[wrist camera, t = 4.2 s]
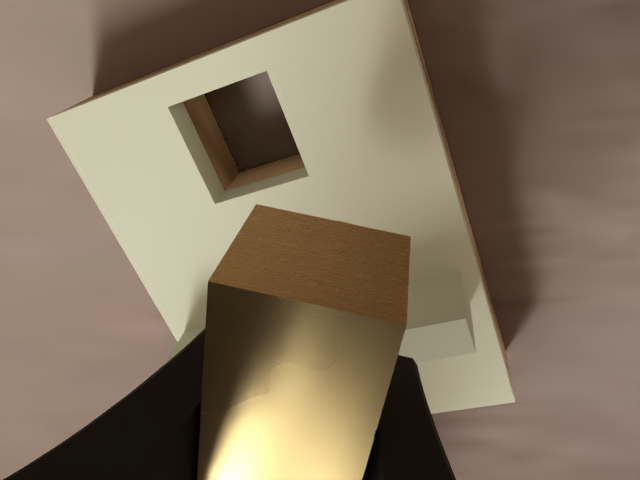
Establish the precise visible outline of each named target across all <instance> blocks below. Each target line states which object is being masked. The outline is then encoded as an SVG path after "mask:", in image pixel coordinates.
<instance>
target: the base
mask: <svg viewBox="0 0 640 480" xmlns="http://www.w3.org/2000/svg"><path fill="white" fill-rule="evenodd" d="M340 1H343V0H335V1H332V2H330V3H327V4H325V5H322V6H320V7H317V8H315V9H312V10H310V11H307V12H305V13H302V14H300V15H297V16H295V17H292V18H289V19H287V20H284V21H282V22H279V23H277V24H274V25H272V26H269V27H267V28H264V29H262V30H259V31H257V32H254V33H252V34H249V35H246V36H244V37H241V38H239V39H236V40H234V41H231V42H229V43H226V44H224V45H221V46H219V47H216V48H214V49H211V50H209V51H206V52H203V53H201V54H198V55H196V56H193V57H191V58H188V59H186V60H183V61H181V62H178V63H176V64H173V65H171V66H168V67H165V68H163V69H160V70H158V71H155V72H153V73H150V74H148V75H145V76H143V77H140V78H138V79H135V80H133V81H130V82H128V83H125V84H122V85H120V86H117V87H115V88H112V89H110V90H107V91H105V92H102V93H100V94H97V95H95V96H92V97H90V98H88V99H86V100H84V101H82V102H80V103H78V104H81V103H83V102H86V101H89V100H91V99H94V98H96V97H99V96H101V95H104V94H106V93H109V92H111V91H114V90H116V89H119V88H122V87H124V86H127V85H129V84H132V83H134V82H137V81H139V80H142V79H144V78H147V77H150V76H152V75H155V74H157V73H160V72H162V71H165V70H167V69H170V68H172V67H175V66H177V65H180V64H183V63H185V62H188V61H190V60H193V59H195V58H198V57H200V56H203V55H205V54H208V53H211V52H213V51H216V50H218V49H221V48H223V47H226V46H228V45H231V44H233V43H236V42H238V41H241V40H244V39H246V38H249V37H251V36H254V35H256V34H259V33H261V32H264V31H266V30H269V29H272V28H274V27H277V26H279V25H282V24H284V23H287V22H289V21H292V20H294V19H297V18H299V17H302V16H305V15H307V14H310V13H312V12H315V11H317V10H320V9H322V8H325V7H327V6H330V5H333V4H335V3H338V2H340ZM404 3H405V7H406V10H407V14H408V17H409V21H410V24H411V28H412V31H413V35H414V38H415V42H416V45H417V49H418V53H419V56H420V60H421V63H422V67H423V70H424V74H425V77H426V81H427V84H428V88H429V91H430V95H431V99H432V102H433V106H434V109H435V113H436V116H437V120H438V123H439V127H440V130H441V134H442V137H443V141H444V145H445V148H446V152H447V155H448V159H449V162H450V166H451V169H452V173H453V176H454V180H455V183H456V187H457V190H458V194H459V198H460V201H461V205H462V208H463V212H464V215H465V219H466V222H467V226H468V229H469V233H470V236H471V240H472V244H473V247H474V251H475V254H476V258H477V261H478V265H479V268H480V272H481V275H482V279H483V282H484V286H485V290H486V293H487V297H488V300H489V304H490V307H491V311H492V314H493V318H494V321H495V325H496V328H497V332H498V336H499V339H500V343H501V346H502V350H503V353H504V357H505V360H506V364H507V367H508V371H509V366H508V361H507V355H506V351H505V347H504V343H503V340H502V336H501V333H500V329H499V326H498V322H497V318H496V315H495V311H494V308H493V304H492V301H491V297H490V293H489V290H488V286H487V283H486V279H485V276H484V272H483V268H482V265H481V261H480V258H479V254H478V251H477V247H476V243H475V240H474V236H473V233H472V229H471V226H470V222H469V219H468V215H467V211H466V208H465V204H464V201H463V197H462V194H461V190H460V186H459V183H458V179H457V176H456V172H455V169H454V165H453V161H452V158H451V154H450V151H449V147H448V144H447V140H446V136H445V133H444V129H443V126H442V122H441V119H440V115H439V111H438V108H437V104H436V101H435V97H434V94H433V90H432V86H431V83H430V79H429V76H428V72H427V69H426V65H425V61H424V58H423V54H422V51H421V47H420V44H419V40H418V36H417V33H416V29H415V26H414V22H413V19H412V15H411V11H410V8H409V4H408V1H407V0H404ZM78 104H76V105H78ZM183 104H184V106H185V108H186V110H187V112H188V114H189V116H190V118H191V120H192V123H193V125H194V127H195V129H196V131H197V133H198V135H199V137H200V139H201V142H202V144H203V146H204V148H205V150H206V152H207V154H208V156H209V158H210V161H211V163H212V165H213V167H214V169H215V171H216V173H217V175H218V177H219V179H220V182H221V184H222V186H223V188H224V190H225V191H227V190H230V189H233V188H237V187H240V186H243V185H247V184H250V183H253V182H257V181H260V180H263V179H267V178H270V177H273V176H276V175H280V174H283V173H286V172H290V171H293V170H296V169H300V168H303V167H305V165H304V162H303V160H302V158H301V155H300V154H297V155H293V156H290V157H287V158H284V159H281V160H277V161H274V162H271V163H268V164H264V165H261V166H258V167H255V168H252V169H248V170H245V171H242V172H239V170H238V168H237V165H236V163H235V161H234V159H233V157H232V154H231V152H230V150H229V148H228V146H227V143H226V141H225V139H224V137H223V135H222V132H221V130H220V128H219V126H218V124H217V121H216V119H215V117H214V115H213V113H212V111H211V108H210V106H209V104H208V102H207V100H206V97H205V95H204V94H202V95H199V96H197V97H194V98H191V99H188V100H186V101H183ZM76 105H74V106H76ZM72 107H73V106H72ZM70 108H71V107H70ZM509 374H510V371H509ZM510 378H511V376H510Z"/></svg>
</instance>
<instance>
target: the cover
mask: <svg viewBox="0 0 640 480" xmlns="http://www.w3.org/2000/svg"><path fill="white" fill-rule="evenodd" d="M264 71H267V73H268V75H269V78H270V80H271V83H272V85H273V88H274V90H275V93H276V95H277V98H278V100H279V103H280V105H281V108H282V110H283V113H284V115H285V118H286V120H287V123H288V125H289V128H290V130H291V133H292V135H293V138H294V140H295V143H296V145H297V148H298V150H299V153H300V155H301V158H302V160H303V162H304V165H305V167H303V168H300V169H296V170H293V171H290V172H286V173H283V174H280V175H276V176H273V177H270V178H267V179H263V180H260V181H257V182H253V183H250V184H247V185H243V186H240V187H237V188H233V189H230V190H227V191H225V190H224V188H223V186H222V184H221V182H220V179H219V177H218V175H217V173H216V171H215V169H214V167H213V165H212V163H211V161H210V158H209V156H208V154H207V152H206V150H205V148H204V146H203V144H202V142H201V139H200V137H199V135H198V133H197V131H196V129H195V127H194V125H193V123H192V120H191V118H190V116H189V114H188V112H187V110H186V108H185V106H184V104H183V101H186V100H188V99H191V98H194V97H197V96H199V95H202V94H205V93H207V92H210V91H213V90H216V89H218V88H221V87H224V86H226V85H229V84H232V83H235V82H237V81H240V80H243V79H245V78H248V77H251V76H254V75H256V74H259V73H262V72H264ZM47 121H48V122H49V124H50V126H51V128H52V129H53V131H54V133H55V134H56V136H57V138H58V139H59V141H60V143H61V145H62V146H63V148H64V150H65V151H66V153H67V155H68V156H69V158H70V160H71V162H72V163H73V165H74V167H75V168H76V170H77V172H78V174H79V175H80V177H81V179H82V180H83V182H84V184H85V185H86V187H87V189H88V191H89V192H90V194H91V196H92V197H93V199H94V201H95V202H96V204H97V206H98V208H99V209H100V211H101V213H102V214H103V216H104V218H105V219H106V221H107V223H108V225H109V226H110V228H111V230H112V231H113V233H114V235H115V237H116V238H117V240H118V242H119V243H120V245H121V247H122V248H123V250H124V252H125V254H126V255H127V257H128V259H129V260H130V262H131V264H132V265H133V267H134V269H135V271H136V272H137V274H138V276H139V277H140V279H141V281H142V283H143V284H144V286H145V288H146V289H147V291H148V293H149V294H150V296H151V298H152V300H153V301H154V303H155V305H156V306H157V308H158V310H159V311H160V313H161V315H162V317H163V318H164V320H165V322H166V323H167V325H168V327H169V328H170V330H171V332H172V334H173V335H174V337H175V339H176V340H177V342H178V343H177V344H176V346H175V348H174V349H173V351H172V353H171V354H170V356H169V358H168V359H167V361H166V363H167V362H168V361H169V360H171V359H172V358H173V357H174V356H175V355H176V354H177V353H179V352H180V351H181V350H182V349H183V348H184V347H185V346H186V345H188V344H189V343H190V342H191V341H192V340H193V339H194V338H195V337H196V336H197V335H198V334H199V333H200V332H202V331H203V330H204V329H205V326H206V308H207V290H208V280H209V279H210V277H211V275H212V274H213V272H214V271H215V269H216V267H217V266H218V264H219V263H220V261H221V259H222V258H223V256H224V255H225V253H226V251H227V250H228V248H229V247H230V245H231V243H232V242H233V240H234V239H235V237H236V235H237V234H238V232H239V231H240V229H241V227H242V226H243V224H244V223H245V221H246V219H247V218H248V216H249V215H250V213H251V211H252V210H253V208H254V207H255V205H256V204H258V205H263V206H268V207H273V208H277V209H282V210H287V211H292V212H296V213H301V214H306V215H311V216H315V217H320V218H325V219H330V220H335V221H342V222H347V223H351V224H354V225H358V226H363V227H368V228H373V229H377V230H382V231H387V232H392V233H397V234H401V235H406V236H411V241H410V263H409V285H408V308H407V326H406V329H405V333H404V336H403V340H402V343H401V347H400V350H399V354H398V355H401V356H405V357H409V358H413V359H414V361H415V362H416V364H417V366H418V371H419V375H420V379H421V383H422V386H423V390H424V393H425V397H426V400H427V403H428V406H429V409H430V412H431V414H434V413H441V412H449V411H456V410H463V409H470V408H477V407H484V406H491V405H498V404H505V403H513V402H515V397H514V392H513V387H512V382H511V378H510V374H509V371H508V367H507V364H506V360H505V357H504V353H503V350H502V346H501V343H500V339H499V336H498V332H497V328H496V325H495V321H494V318H493V314H492V311H491V307H490V304H489V300H488V297H487V293H486V290H485V286H484V282H483V279H482V275H481V272H480V268H479V265H478V261H477V258H476V254H475V251H474V247H473V244H472V240H471V236H470V233H469V229H468V226H467V222H466V219H465V215H464V212H463V208H462V205H461V201H460V198H459V194H458V190H457V187H456V183H455V180H454V176H453V173H452V169H451V166H450V162H449V159H448V155H447V152H446V148H445V145H444V141H443V137H442V134H441V130H440V127H439V123H438V120H437V116H436V113H435V109H434V106H433V102H432V99H431V95H430V91H429V88H428V84H427V81H426V77H425V74H424V70H423V67H422V63H421V60H420V56H419V53H418V49H417V45H416V42H415V38H414V35H413V31H412V28H411V24H410V21H409V17H408V14H407V10H406V7H405V3H404V0H343V1H340V2H338V3H335V4H333V5H330V6H327V7H325V8H322V9H320V10H317V11H315V12H312V13H310V14H307V15H305V16H302V17H299V18H297V19H294V20H292V21H289V22H287V23H284V24H282V25H279V26H277V27H274V28H272V29H269V30H266V31H264V32H261V33H259V34H256V35H254V36H251V37H249V38H246V39H244V40H241V41H238V42H236V43H233V44H231V45H228V46H226V47H223V48H221V49H218V50H216V51H213V52H211V53H208V54H205V55H203V56H200V57H198V58H195V59H193V60H190V61H188V62H185V63H183V64H180V65H177V66H175V67H172V68H170V69H167V70H165V71H162V72H160V73H157V74H155V75H152V76H150V77H147V78H144V79H142V80H139V81H137V82H134V83H132V84H129V85H127V86H124V87H122V88H119V89H116V90H114V91H111V92H109V93H106V94H104V95H101V96H99V97H96V98H94V99H91V100H89V101H86V102H83V103H81V104H78V105H76V106H73V107H71V108H68V109H66V110H63V111H61V112H59V113H57V114H55V115H53V116H51V117H49V118H47ZM166 363H165V364H166ZM165 364H164V365H165Z"/></svg>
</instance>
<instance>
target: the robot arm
mask: <svg viewBox="0 0 640 480" xmlns="http://www.w3.org/2000/svg"><path fill="white" fill-rule="evenodd" d="M204 344H205V329H204V330H203V331H202V332H200V333H199V334H198V335H197V336H196V337H195V338H194V339H193V340H192V341H191V342H190V343H189V344H188V345H186V346H185V347H184V348H183V349H182V350H181V351H180V352H179V353H177V354H176V355H175V356H174V357H173V358H172V359H171V360H169V361H168V362H167V363H166V364H165V365H164V366H162V367H161V368H160V369H159V370H158V371H156V372H155V373H154V374H153V375H152V376H150V377H149V378H148V379H147V380H146V381H144V382H143V383H142V384H141V385H140V386H138V387H137V388H136V389H135V390H133V391H132V392H131V393H130V394H128V395H127V396H126V397H124V398H123V399H122V400H120V401H119V402H118V403H116V404H115V405H114V406H112V407H111V408H110V409H108V410H107V411H106V412H104V413H103V414H102V415H100V416H99V417H98V418H96V419H95V420H94V421H92V422H91V423H90V424H88V425H87V426H85V427H84V428H83V429H81V430H80V431H78V432H77V433H75V434H74V435H72V436H71V437H70V438H68V439H67V440H65V441H64V442H62V443H61V444H59V445H58V446H56V447H55V448H53V449H52V450H50V451H49V452H47V453H45V454H44V455H42V456H41V457H39V458H38V459H36V460H35V461H33V462H31V463H30V464H28V465H27V466H25V467H24V468H22V469H20V470H19V471H17V472H15V473H14V474H12V475H10V476H9V477H7V478H5V479H3V480H197V472H198V454H199V436H200V417H201V399H202V381H203V363H204ZM362 480H456V478H455V476H454V474H453V471H452V469H451V466H450V463H449V461H448V458H447V456H446V453H445V451H444V448H443V446H442V443H441V441H440V438H439V435H438V432H437V430H436V427H435V424H434V421H433V418H432V415H431V412H430V409H429V406H428V403H427V400H426V397H425V393H424V390H423V386H422V383H421V379H420V375H419V371H418V366H417V364H416V362H415V361H414V359H413V358H409V357H405V356H401V355H398V357H397V360H396V364H395V367H394V371H393V374H392V378H391V381H390V385H389V388H388V392H387V395H386V399H385V402H384V406H383V409H382V412H381V416H380V419H379V423H378V426H377V430H376V433H375V437H374V440H373V444H372V447H371V451H370V454H369V458H368V461H367V464H366V468H365V471H364V475H363V478H362Z"/></svg>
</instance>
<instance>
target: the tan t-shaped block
mask: <svg viewBox="0 0 640 480" xmlns="http://www.w3.org/2000/svg"><path fill="white" fill-rule="evenodd" d="M410 241H411V236H406V235H401V234H397V233H392V232H387V231H382V230H377V229H373V228H368V227H363V226H358V225H354V224H351V223H347V222H342V221H335V220H330V219H325V218H320V217H315V216H311V215H306V214H301V213H296V212H292V211H287V210H282V209H277V208H273V207H268V206H263V205H258V204H256V205H255V207H254V208H253V210H252V211H251V213H250V215H249V216H248V218H247V219H246V221H245V223H244V224H243V226H242V227H241V229H240V231H239V232H238V234H237V235H236V237H235V239H234V240H233V242H232V243H231V245H230V247H229V248H228V250H227V251H226V253H225V255H224V256H223V258H222V259H221V261H220V263H219V264H218V266H217V267H216V269H215V271H214V272H213V274H212V275H211V277H210V279H209V280H208V290H207V308H206V326H205V344H204V363H203V381H202V399H201V417H200V436H199V454H198V472H197V480H362V478H363V475H364V471H365V468H366V464H367V461H368V458H369V454H370V451H371V447H372V444H373V440H374V437H375V433H376V430H377V426H378V423H379V419H380V416H381V412H382V409H383V406H384V402H385V399H386V395H387V392H388V388H389V385H390V381H391V378H392V374H393V371H394V367H395V364H396V360H397V357H398V354H399V350H400V347H401V343H402V340H403V336H404V333H405V329H406V326H407V308H408V285H409V263H410Z"/></svg>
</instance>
